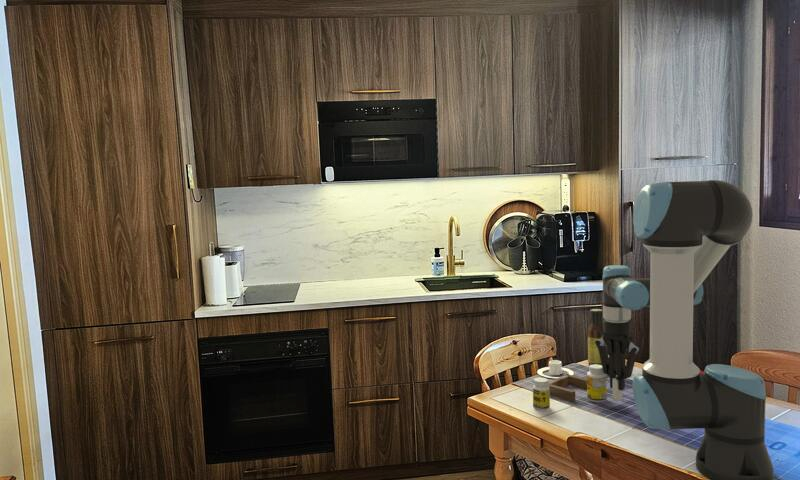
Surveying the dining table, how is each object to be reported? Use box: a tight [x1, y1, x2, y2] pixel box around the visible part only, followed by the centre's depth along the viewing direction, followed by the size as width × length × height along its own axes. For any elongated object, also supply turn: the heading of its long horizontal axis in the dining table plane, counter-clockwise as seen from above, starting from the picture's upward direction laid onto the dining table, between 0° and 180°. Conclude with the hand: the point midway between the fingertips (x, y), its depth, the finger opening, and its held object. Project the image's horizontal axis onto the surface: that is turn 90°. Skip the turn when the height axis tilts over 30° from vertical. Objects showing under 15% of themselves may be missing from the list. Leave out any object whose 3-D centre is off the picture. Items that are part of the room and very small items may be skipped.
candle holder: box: [536, 359, 575, 379], centre depth 206 cm, size 12×12×4 cm
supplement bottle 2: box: [586, 364, 608, 403], centre depth 181 cm, size 6×6×10 cm
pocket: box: [548, 373, 587, 403], centre depth 188 cm, size 13×10×3 cm
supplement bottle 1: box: [532, 377, 551, 411], centre depth 176 cm, size 5×5×8 cm
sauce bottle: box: [587, 308, 608, 367], centre depth 211 cm, size 7×6×20 cm
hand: (617, 399), depth 176 cm, fingers closed
